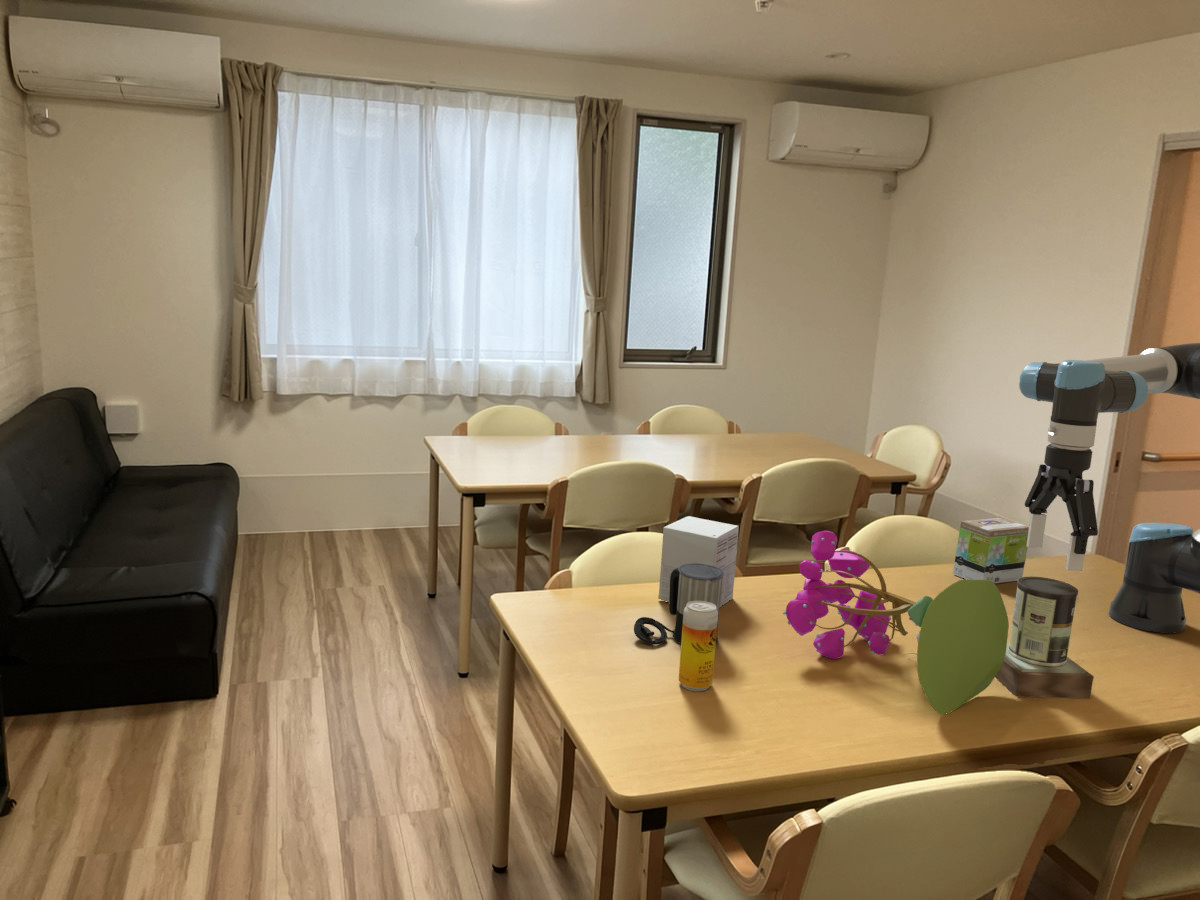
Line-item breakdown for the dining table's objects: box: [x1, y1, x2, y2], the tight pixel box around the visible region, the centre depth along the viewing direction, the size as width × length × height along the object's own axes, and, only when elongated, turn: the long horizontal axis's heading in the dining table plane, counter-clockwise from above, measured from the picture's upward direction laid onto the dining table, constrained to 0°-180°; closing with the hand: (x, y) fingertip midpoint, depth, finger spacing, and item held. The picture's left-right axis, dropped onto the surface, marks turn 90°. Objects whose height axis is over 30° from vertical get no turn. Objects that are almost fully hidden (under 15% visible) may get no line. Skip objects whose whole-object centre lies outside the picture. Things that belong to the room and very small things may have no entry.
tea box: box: [952, 517, 1029, 584], centre depth 233 cm, size 15×10×15 cm
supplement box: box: [657, 515, 740, 608], centre depth 205 cm, size 13×13×18 cm
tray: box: [994, 642, 1095, 700], centre depth 172 cm, size 14×14×5 cm
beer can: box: [678, 601, 719, 692], centre depth 161 cm, size 6×6×15 cm
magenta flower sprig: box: [782, 530, 1009, 715], centre depth 174 cm, size 30×28×35 cm
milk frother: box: [633, 563, 724, 646], centre depth 181 cm, size 14×16×15 cm
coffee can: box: [1008, 576, 1079, 667], centre depth 171 cm, size 10×10×14 cm
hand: (1053, 558), depth 168 cm, fingers open, 13 cm apart
